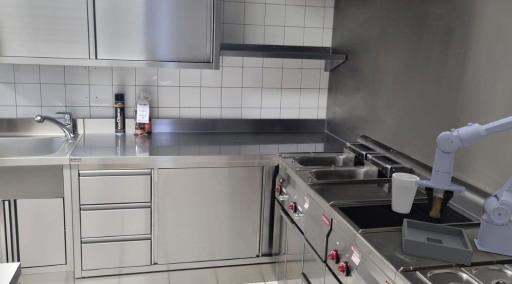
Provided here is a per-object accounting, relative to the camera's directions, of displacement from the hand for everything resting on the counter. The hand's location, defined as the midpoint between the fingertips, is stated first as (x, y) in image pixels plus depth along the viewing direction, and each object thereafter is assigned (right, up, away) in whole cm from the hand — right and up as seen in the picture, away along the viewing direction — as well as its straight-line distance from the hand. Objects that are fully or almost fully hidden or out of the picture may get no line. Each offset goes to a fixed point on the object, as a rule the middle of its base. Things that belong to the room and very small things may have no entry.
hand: (435, 211), depth 143 cm
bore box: (-3, -10, -7) cm, 12 cm away
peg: (0, -1, 0) cm, 1 cm away
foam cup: (-3, -3, +24) cm, 25 cm away
